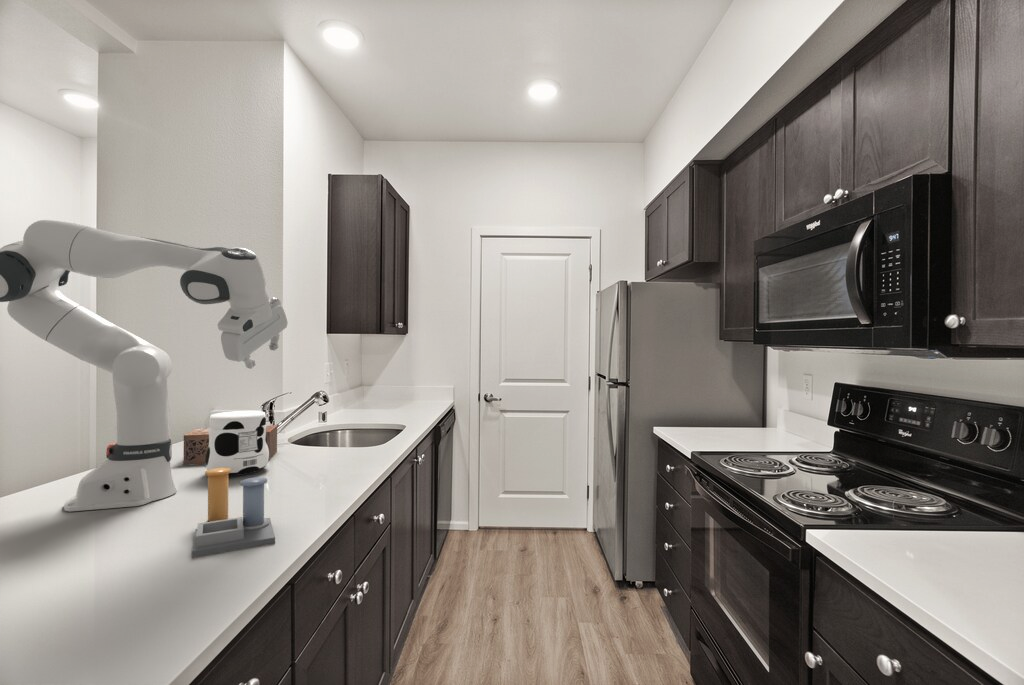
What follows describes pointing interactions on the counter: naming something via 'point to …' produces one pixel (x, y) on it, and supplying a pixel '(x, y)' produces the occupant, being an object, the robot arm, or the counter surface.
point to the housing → (237, 525)
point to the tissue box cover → (199, 443)
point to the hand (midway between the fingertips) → (263, 357)
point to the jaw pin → (217, 493)
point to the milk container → (237, 442)
